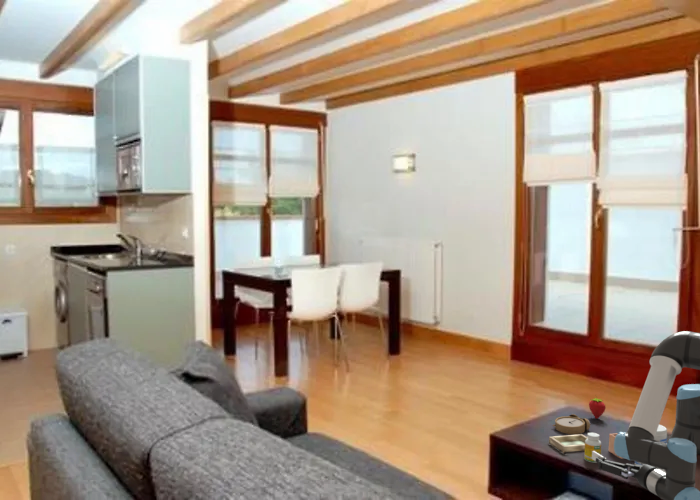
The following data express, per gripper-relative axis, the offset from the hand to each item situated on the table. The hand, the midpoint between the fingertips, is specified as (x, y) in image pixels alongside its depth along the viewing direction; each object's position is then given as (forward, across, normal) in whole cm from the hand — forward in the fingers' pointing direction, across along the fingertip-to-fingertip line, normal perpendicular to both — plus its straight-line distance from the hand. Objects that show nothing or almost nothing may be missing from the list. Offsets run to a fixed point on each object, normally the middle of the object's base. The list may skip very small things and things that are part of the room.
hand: (610, 453), depth 215 cm
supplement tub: (0, +16, -7) cm, 17 cm away
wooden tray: (+23, +1, -7) cm, 24 cm away
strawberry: (+49, +29, -7) cm, 57 cm away
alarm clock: (+40, +12, -7) cm, 42 cm away
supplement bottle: (+10, 0, -7) cm, 12 cm away
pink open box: (+12, +14, -7) cm, 20 cm away
